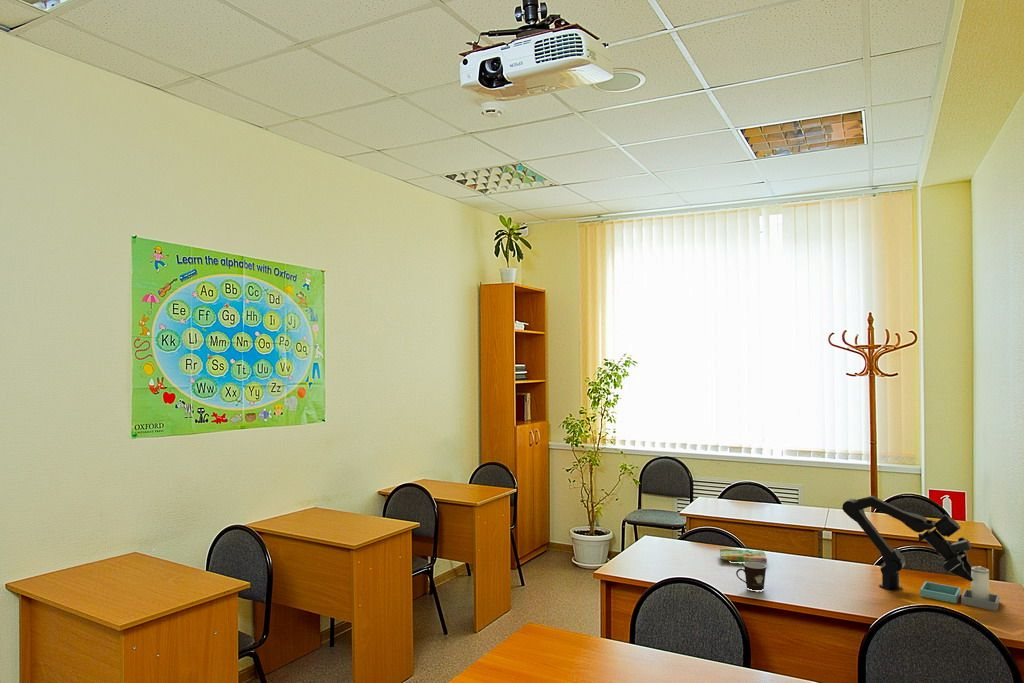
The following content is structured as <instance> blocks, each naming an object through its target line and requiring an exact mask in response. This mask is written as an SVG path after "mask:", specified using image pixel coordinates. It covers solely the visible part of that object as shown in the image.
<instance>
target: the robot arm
mask: <svg viewBox="0 0 1024 683" xmlns="http://www.w3.org/2000/svg"><path fill="white" fill-rule="evenodd" d="M870 507H871V508H872V509H873V508H874V509H875V510H877V511H879V512H882V513H884V514H886V515H888V516H890V517H891V518H894V519H896V520H898V521H900V522H901V523H903V524H904V525H905V526H906V527H908V528H909V529H911V531H913V532H915V533H918V534H917V535H918V542H919V543H921V542H922V541H923V540H925V542H927V543H928V545H930V546H931V548H933V550H935V551H934V552H935V554H938V555H939V556H941V558H943V561H944V563H943V569H944V570H945V571H946V572H948V573H952V574H954V575H956V576H958V577H960V578H962V579H964V580H967V581H969V582H971V581H973V579H972V577H971V567H973V566H972V564H971V563H970V562H969V560H968V551H970V550H972V545H971V543H970V542H971V541H969V540H968V538H964V536H963V537H962V536H961V537H958V539H957V541H955V542H952V541H951V540H947V539H945V537H947V538H949V537H951V536H953V535H954V534H955V533H957V532H958V531H959V530H960V529H961V528H962V527H961V526H960V525H959V523H958V522H957V520H955V519H953V518H952V517H950V516H948V515H947V514H944V515H943V516H942V517H941V518H940V519H939V520H937V521H935V520H932V519H928V518H926V517H925V516H923V515H921V514H918V513H914V512H908V511H905V510H903V509H901V508H899V507H896V506H894V505H892V504H890V503H888V502H886V501H885V500H882V499H880V498H878V497H876V496H875V495H869V496H866V497H862V498H859V499H855V498H850V499H848V500H846V501H844V502H843V503H842V508H841V509H842V510H843V512H844V513H845V514H846V515H847V516H848V517H849V518H850V519H851V520H853V521H855V523H857V524H858V526H859V527H860V528H861V529H862V530H863V532H864V533H865V535H866V536H867V537H868V538H869V539H870V540H869V541H870V542H872V544H873V545H874V546H875V547H876V549H877V550H878V551H879V552H880V555H881V557H882V560H883V561H884V562H883V563H884V564H883V565H882V566H881V568H880V569H879V570H880V572H881V574H882V575H881V578H882V579H881V580H882V582H881V584H879V585H878V587H879V586H880V587H879V588H882V587H883V588H882V589H885V588H886V590H889V589H890V590H889V591H892V590H893V592H895V591H894V590H896V591H898V590H903V589H904V587H903V586H900V574H899V573H900V571H902V569H903V568H904V567H905V565H906V559H905V555H904V554H902V552H901V551H900V549H899V548H898V547H896V548H895V549H894V548H892V547H891V546H890V544H888V542H887V541H886V540H885V538H884V537H883V536H882V535H881V534H880V532H879V531H878V530H877V528H876V527H875V526H874V525H873V524H872V522H871V520H869V519H868V518H869V517H867V516H866V513H865V510H864V509H868V508H870ZM922 532H923V533H922Z"/></svg>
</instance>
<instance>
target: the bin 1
mask: <svg viewBox="0 0 1024 683" xmlns="http://www.w3.org/2000/svg"><path fill="white" fill-rule="evenodd" d="M961 593H962V591H961V587H959V586H953V585H948V584H943V583H942V584H941V583H936V582H931V581H924V582H923V584H922V586H921V587H920V589H919V594H920V595H919V596H920V597H922V598H927V599H932V600H937V601H943V602H947V603H952V604H957V603H958V602H959V599H960V596H962V595H961Z"/></svg>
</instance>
